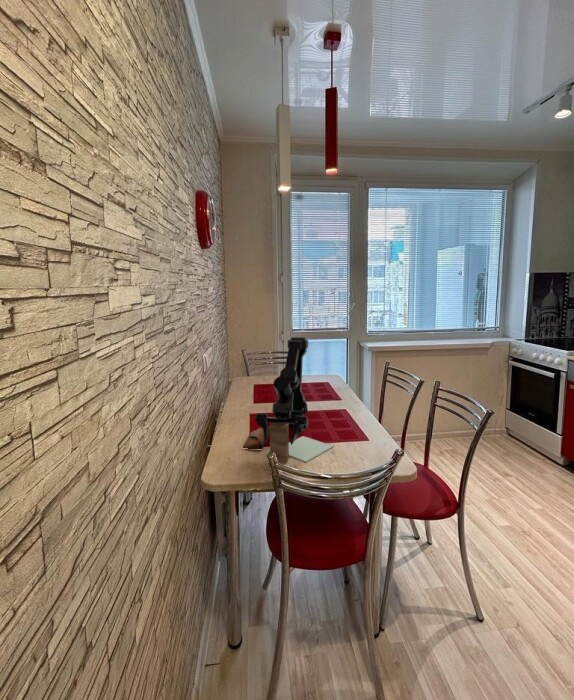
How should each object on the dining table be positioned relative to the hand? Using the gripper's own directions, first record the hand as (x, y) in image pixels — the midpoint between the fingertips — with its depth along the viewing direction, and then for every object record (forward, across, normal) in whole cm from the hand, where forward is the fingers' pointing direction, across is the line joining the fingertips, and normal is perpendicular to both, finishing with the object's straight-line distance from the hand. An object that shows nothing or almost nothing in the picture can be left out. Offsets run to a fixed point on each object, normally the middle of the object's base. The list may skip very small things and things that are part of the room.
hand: (278, 443), depth 129 cm
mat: (-4, +7, +13) cm, 16 cm away
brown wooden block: (+4, 0, +6) cm, 7 cm away
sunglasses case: (-6, -13, +17) cm, 22 cm away
